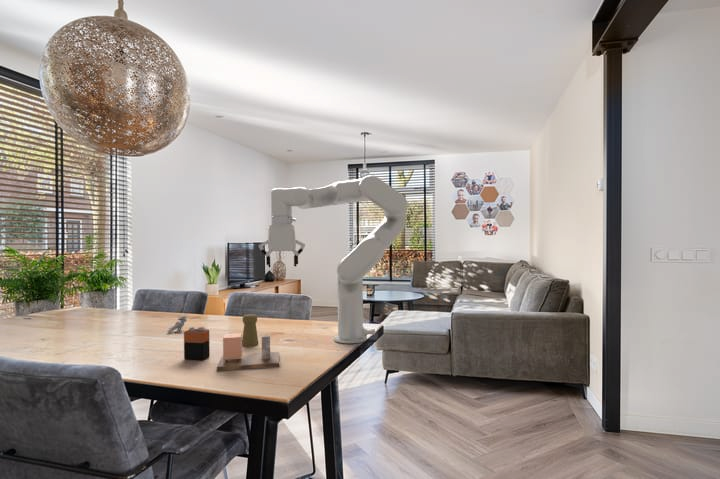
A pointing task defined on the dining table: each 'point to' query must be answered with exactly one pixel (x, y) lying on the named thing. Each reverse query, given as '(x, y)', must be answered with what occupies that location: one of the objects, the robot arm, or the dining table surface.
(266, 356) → the peg stand
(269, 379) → the dining table surface
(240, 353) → the salmon pink foam cube
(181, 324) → the grey animal figurine
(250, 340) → the cork
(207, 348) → the battery
